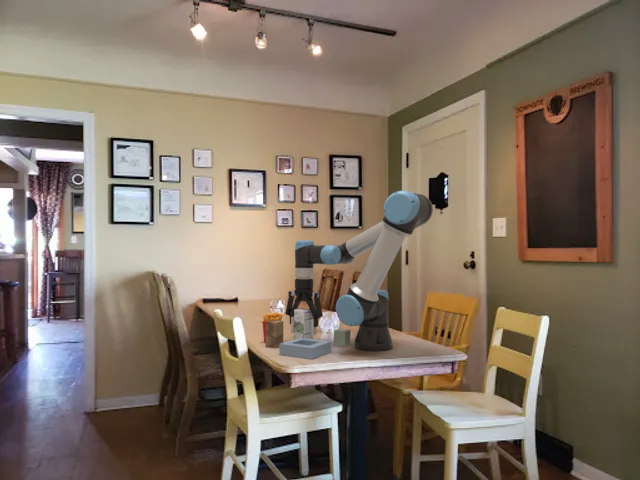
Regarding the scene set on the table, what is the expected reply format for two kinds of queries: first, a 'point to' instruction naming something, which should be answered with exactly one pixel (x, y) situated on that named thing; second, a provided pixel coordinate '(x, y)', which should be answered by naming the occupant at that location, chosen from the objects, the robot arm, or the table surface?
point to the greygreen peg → (342, 337)
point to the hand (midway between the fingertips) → (303, 333)
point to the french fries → (269, 318)
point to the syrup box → (302, 323)
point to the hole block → (305, 348)
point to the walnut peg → (274, 333)
